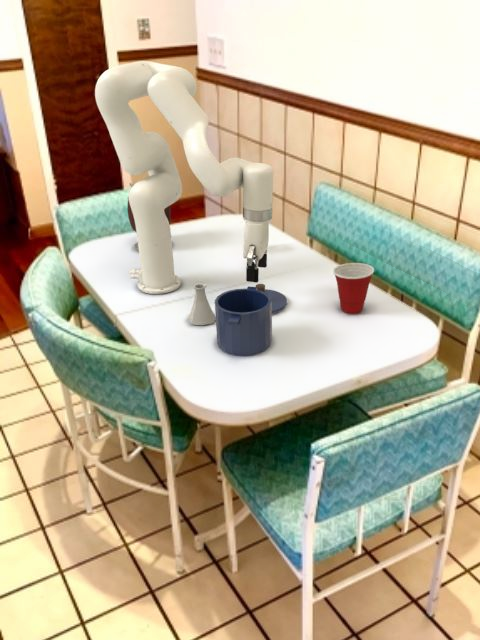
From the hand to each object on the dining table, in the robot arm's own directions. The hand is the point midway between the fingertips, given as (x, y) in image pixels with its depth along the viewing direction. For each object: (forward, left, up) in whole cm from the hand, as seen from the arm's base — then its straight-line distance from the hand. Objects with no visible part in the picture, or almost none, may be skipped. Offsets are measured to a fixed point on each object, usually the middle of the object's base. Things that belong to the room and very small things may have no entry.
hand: (256, 274), depth 172 cm
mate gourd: (-45, +35, -9) cm, 58 cm away
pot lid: (+1, 0, -8) cm, 8 cm away
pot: (+2, -21, -9) cm, 23 cm away
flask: (-12, -12, -9) cm, 20 cm away
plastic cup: (+26, +2, -9) cm, 27 cm away
